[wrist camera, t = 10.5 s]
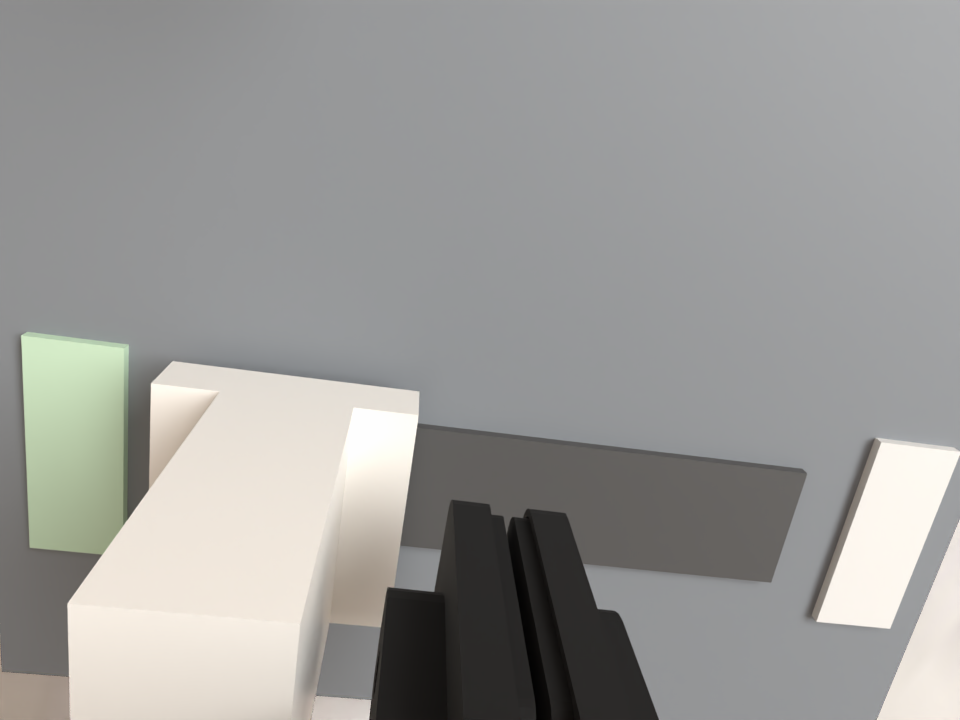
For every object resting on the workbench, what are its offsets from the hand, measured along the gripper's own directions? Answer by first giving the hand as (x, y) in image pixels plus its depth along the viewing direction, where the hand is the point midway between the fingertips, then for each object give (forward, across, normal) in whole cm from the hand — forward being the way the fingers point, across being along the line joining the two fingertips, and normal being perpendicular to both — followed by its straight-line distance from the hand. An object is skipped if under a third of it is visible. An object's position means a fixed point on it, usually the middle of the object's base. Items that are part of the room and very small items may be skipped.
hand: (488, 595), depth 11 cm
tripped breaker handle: (+3, +3, 0) cm, 4 cm away
